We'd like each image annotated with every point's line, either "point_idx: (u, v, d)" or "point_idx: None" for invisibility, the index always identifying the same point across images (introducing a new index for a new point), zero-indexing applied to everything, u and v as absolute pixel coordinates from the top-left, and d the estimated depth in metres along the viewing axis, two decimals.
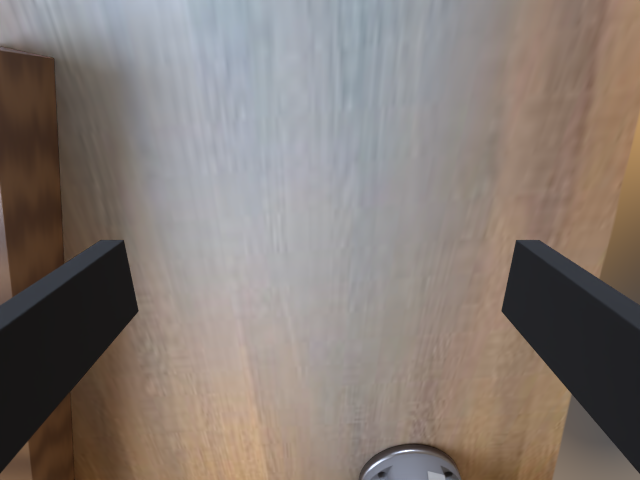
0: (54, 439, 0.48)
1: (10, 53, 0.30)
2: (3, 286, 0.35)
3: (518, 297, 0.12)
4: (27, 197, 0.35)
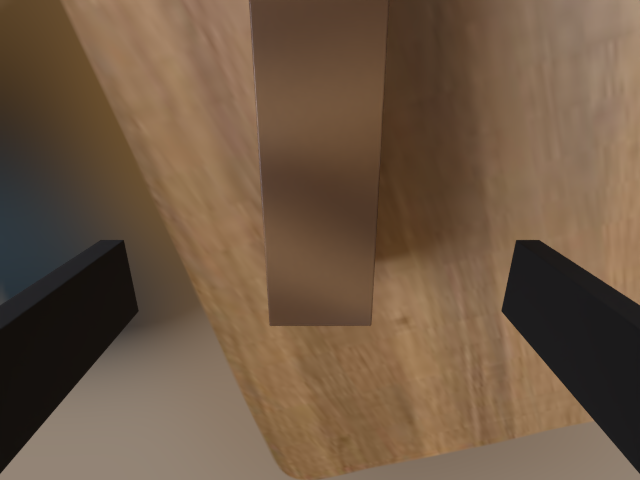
0: None
1: None
2: None
3: (518, 297, 0.12)
4: None
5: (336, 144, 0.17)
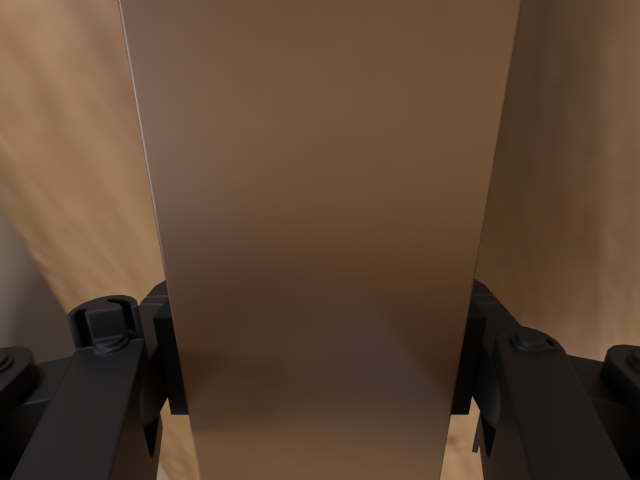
0: None
1: None
2: None
3: None
4: None
5: (366, 208, 0.06)
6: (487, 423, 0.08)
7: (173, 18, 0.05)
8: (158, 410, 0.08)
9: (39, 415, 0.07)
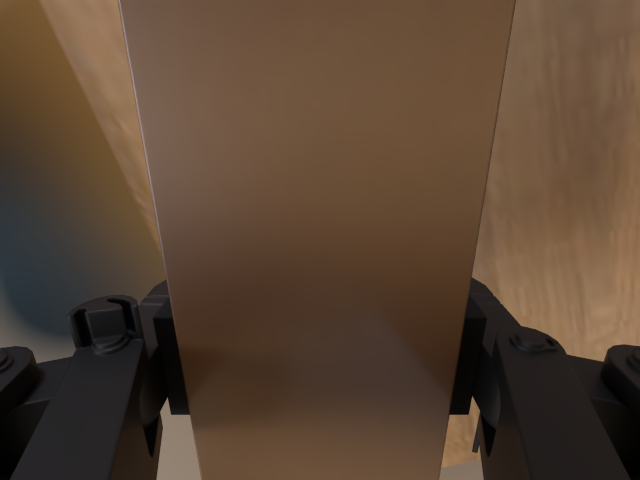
0: None
1: None
2: None
3: None
4: None
5: (364, 204, 0.06)
6: (487, 423, 0.08)
7: (172, 17, 0.05)
8: (158, 410, 0.08)
9: (39, 415, 0.07)
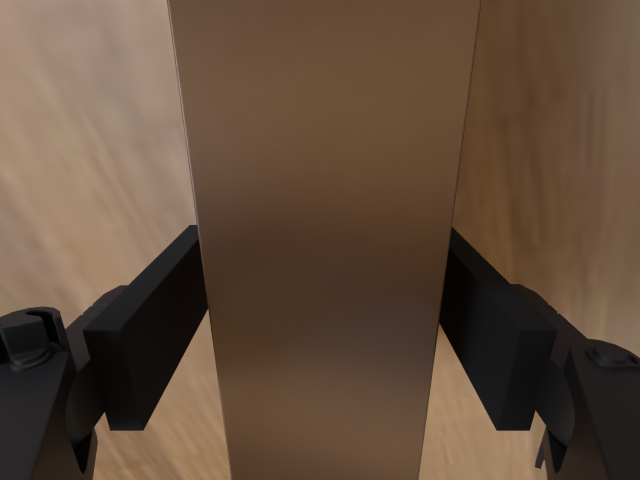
0: None
1: None
2: None
3: None
4: None
5: (361, 176, 0.08)
6: (555, 438, 0.07)
7: (211, 25, 0.07)
8: (91, 424, 0.08)
9: None
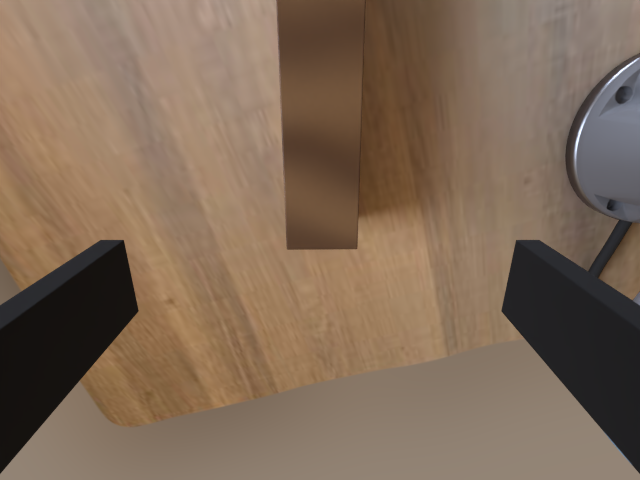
0: None
1: None
2: None
3: (518, 297, 0.12)
4: None
5: (332, 121, 0.26)
6: None
7: (290, 78, 0.25)
8: None
9: None
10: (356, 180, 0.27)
